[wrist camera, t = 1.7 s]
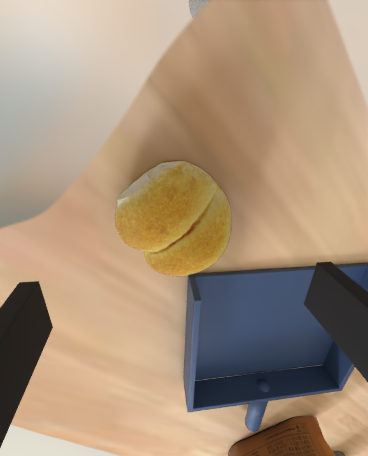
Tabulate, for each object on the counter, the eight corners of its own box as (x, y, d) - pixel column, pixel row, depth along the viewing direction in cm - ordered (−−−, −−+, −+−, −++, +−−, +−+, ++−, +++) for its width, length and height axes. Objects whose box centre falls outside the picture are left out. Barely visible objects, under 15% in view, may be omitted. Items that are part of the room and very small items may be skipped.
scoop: (188, 274, 22) (194, 300, 19) (368, 262, 25) (400, 284, 22) (181, 419, 34) (185, 450, 30) (305, 401, 36) (320, 428, 33)
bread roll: (169, 276, 22) (173, 308, 18) (100, 205, 18) (88, 228, 14) (245, 226, 21) (265, 250, 17) (187, 138, 17) (198, 146, 13)
